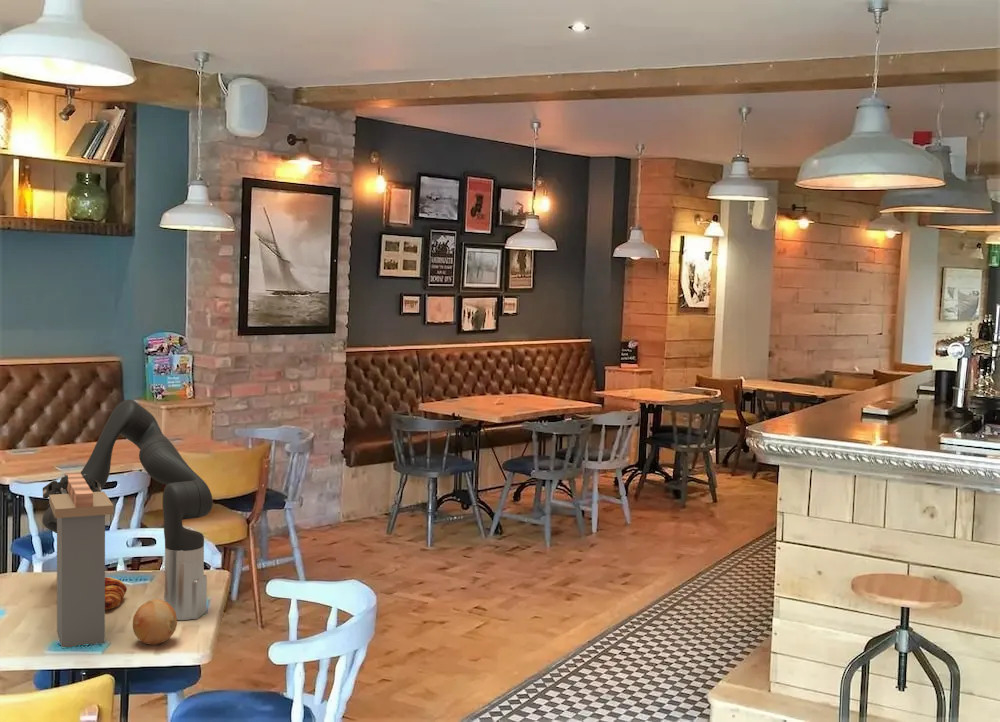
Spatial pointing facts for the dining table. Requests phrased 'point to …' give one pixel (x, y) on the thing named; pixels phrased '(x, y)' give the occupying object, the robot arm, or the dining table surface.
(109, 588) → the croissant
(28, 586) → the dining table surface
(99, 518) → the stand
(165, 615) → the onion
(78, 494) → the batten
